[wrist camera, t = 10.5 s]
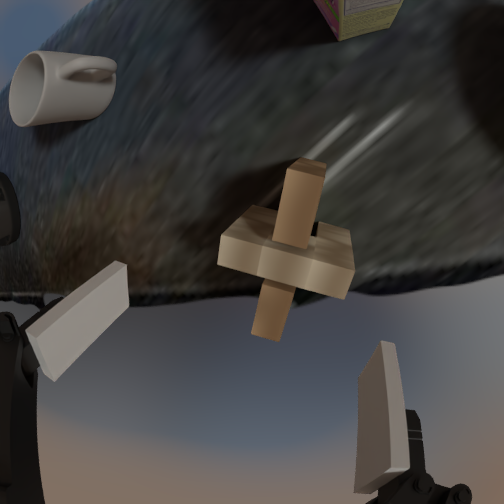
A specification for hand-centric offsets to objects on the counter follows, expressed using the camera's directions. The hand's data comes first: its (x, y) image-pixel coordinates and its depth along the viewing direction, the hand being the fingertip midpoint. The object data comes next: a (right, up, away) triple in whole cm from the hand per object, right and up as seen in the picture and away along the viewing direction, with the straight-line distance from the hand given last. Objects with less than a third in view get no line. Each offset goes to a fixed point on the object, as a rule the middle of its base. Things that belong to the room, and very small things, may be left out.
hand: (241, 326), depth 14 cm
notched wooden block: (+5, +6, +15) cm, 17 cm away
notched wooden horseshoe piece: (+5, +6, +15) cm, 17 cm away
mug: (-18, +24, +14) cm, 33 cm away
